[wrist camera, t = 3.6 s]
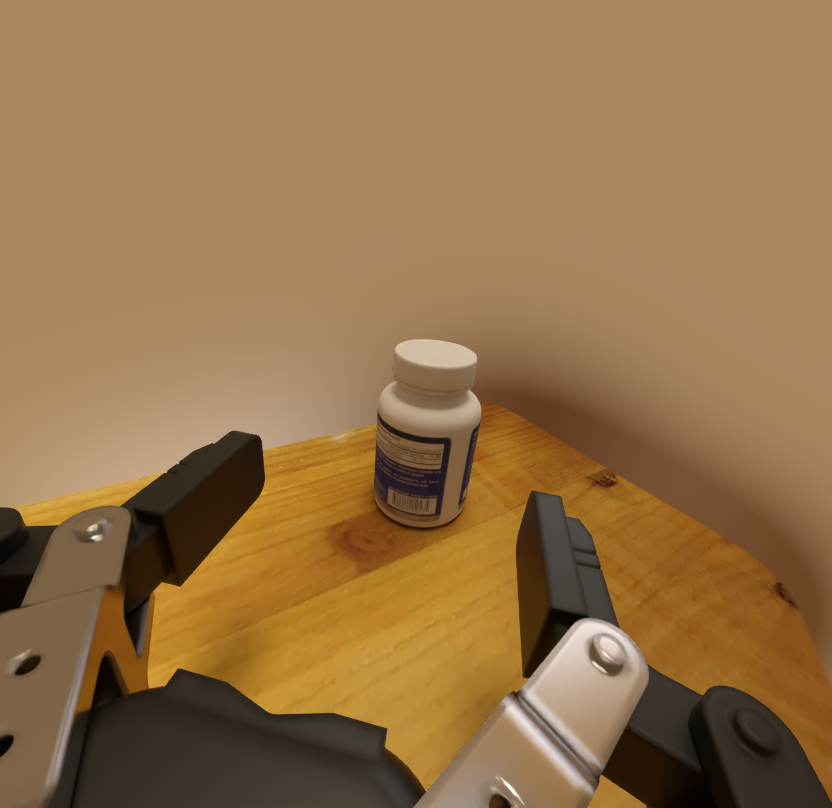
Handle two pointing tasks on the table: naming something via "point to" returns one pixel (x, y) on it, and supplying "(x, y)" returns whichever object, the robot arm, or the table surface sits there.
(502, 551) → the table surface
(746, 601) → the table surface
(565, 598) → the robot arm
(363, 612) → the table surface
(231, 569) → the table surface
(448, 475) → the pill bottle
